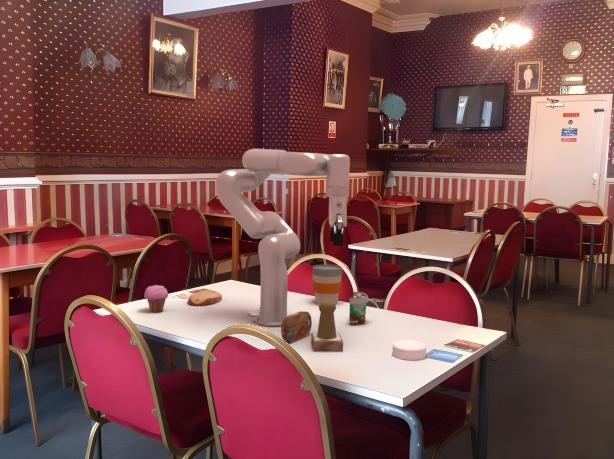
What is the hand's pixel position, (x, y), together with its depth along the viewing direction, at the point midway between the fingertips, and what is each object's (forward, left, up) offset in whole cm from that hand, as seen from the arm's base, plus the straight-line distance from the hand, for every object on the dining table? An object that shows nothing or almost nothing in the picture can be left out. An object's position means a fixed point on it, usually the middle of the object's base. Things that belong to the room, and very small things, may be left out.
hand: (336, 243), depth 195 cm
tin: (-13, -6, -31) cm, 34 cm away
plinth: (-4, -15, -30) cm, 34 cm away
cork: (-4, -15, -27) cm, 31 cm away
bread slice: (-48, +48, -31) cm, 75 cm away
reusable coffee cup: (+2, +44, -31) cm, 53 cm away
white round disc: (+20, -23, -31) cm, 43 cm away
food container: (+11, +14, -31) cm, 35 cm away
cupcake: (-64, +30, -31) cm, 77 cm away
